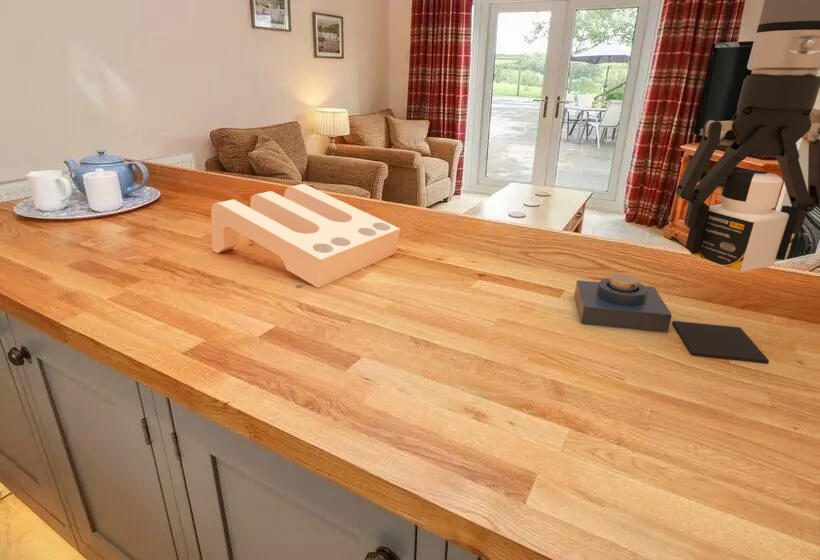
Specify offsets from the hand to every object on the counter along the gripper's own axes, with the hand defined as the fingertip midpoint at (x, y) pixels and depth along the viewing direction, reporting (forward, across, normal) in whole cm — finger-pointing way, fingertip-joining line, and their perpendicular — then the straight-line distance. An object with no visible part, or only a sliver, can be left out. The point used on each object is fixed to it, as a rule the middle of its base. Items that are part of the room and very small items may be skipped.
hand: (733, 253), depth 66 cm
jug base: (+15, -10, +10) cm, 21 cm away
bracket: (+15, -73, +26) cm, 79 cm away
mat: (+15, +2, +3) cm, 16 cm away
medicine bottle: (+1, 0, 0) cm, 1 cm away
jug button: (+11, -10, +10) cm, 18 cm away
